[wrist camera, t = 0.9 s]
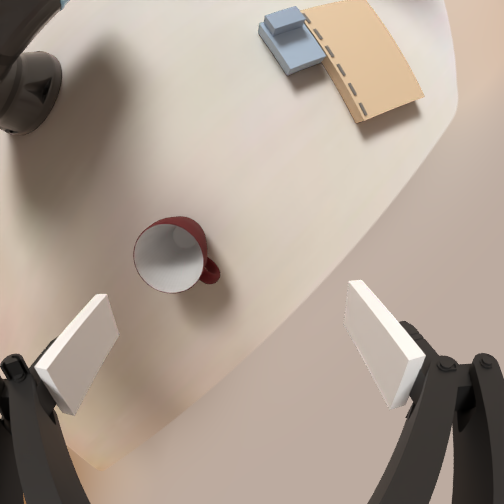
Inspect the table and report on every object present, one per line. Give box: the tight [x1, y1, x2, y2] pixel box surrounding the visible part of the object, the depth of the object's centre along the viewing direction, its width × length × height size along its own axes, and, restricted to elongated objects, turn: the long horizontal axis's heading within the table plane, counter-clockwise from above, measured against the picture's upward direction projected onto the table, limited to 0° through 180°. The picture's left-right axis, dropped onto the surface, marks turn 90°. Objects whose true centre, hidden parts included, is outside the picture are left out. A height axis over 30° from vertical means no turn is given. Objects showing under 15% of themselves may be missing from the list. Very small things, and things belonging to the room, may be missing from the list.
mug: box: [134, 216, 220, 293], centre depth 34 cm, size 10×8×10 cm
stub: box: [258, 6, 326, 76], centre depth 27 cm, size 8×5×5 cm
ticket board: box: [300, 0, 425, 123], centre depth 29 cm, size 18×12×3 cm, turn 29°
